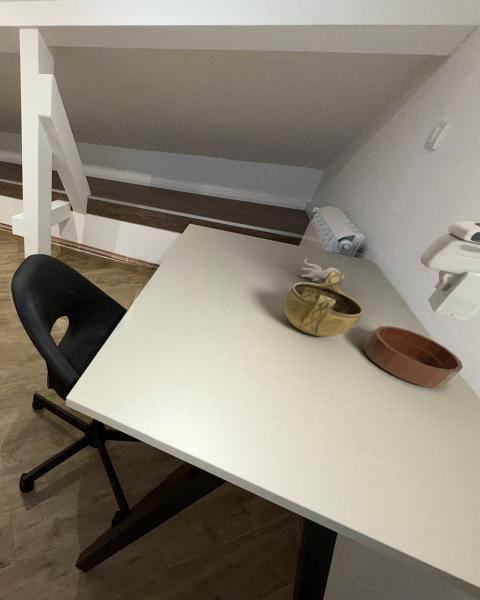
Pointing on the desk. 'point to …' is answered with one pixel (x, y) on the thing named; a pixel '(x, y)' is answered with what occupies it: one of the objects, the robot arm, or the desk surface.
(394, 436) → the desk surface
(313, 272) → the figurine
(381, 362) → the terracotta bowl
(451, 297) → the small box
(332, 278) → the ceramic bowl
